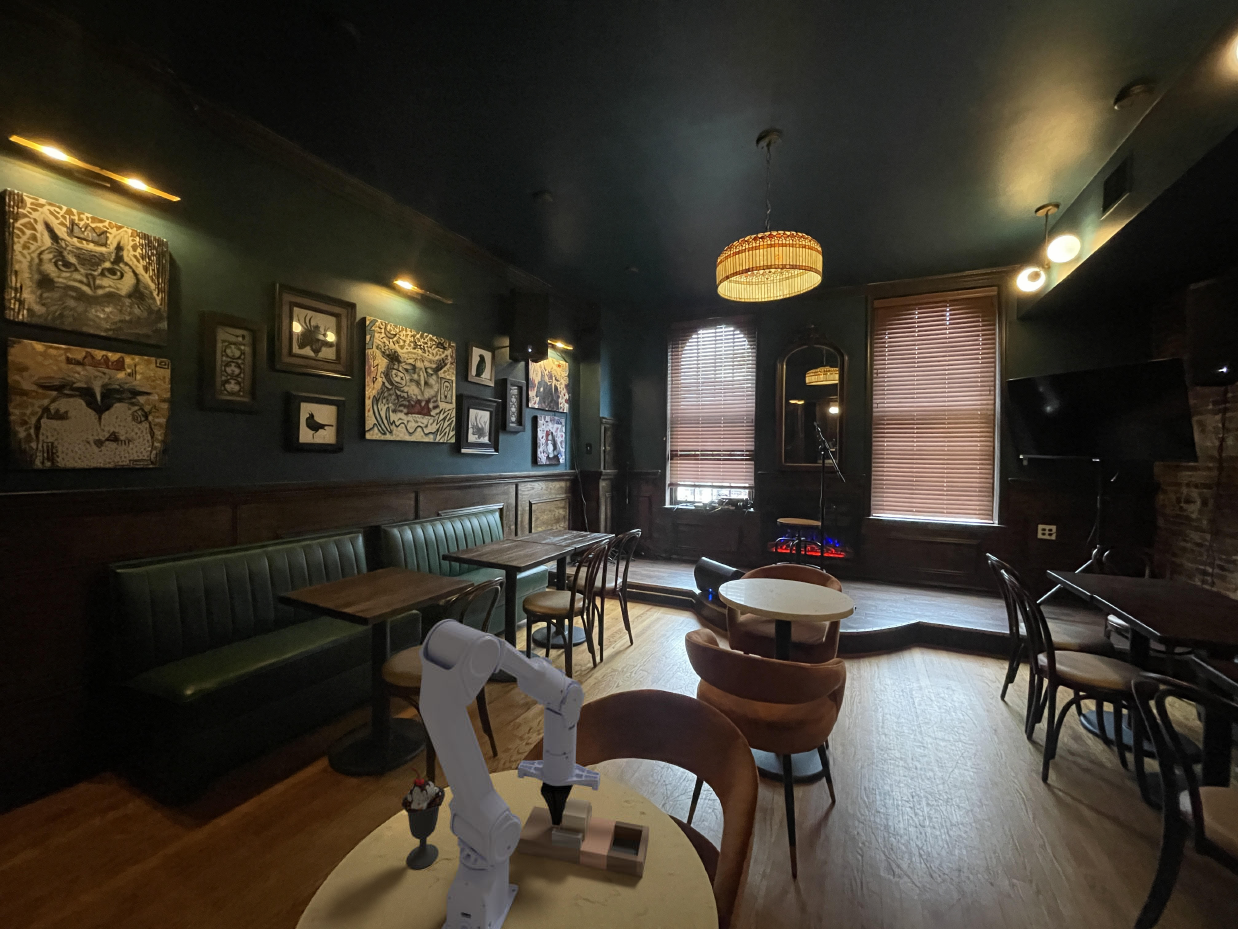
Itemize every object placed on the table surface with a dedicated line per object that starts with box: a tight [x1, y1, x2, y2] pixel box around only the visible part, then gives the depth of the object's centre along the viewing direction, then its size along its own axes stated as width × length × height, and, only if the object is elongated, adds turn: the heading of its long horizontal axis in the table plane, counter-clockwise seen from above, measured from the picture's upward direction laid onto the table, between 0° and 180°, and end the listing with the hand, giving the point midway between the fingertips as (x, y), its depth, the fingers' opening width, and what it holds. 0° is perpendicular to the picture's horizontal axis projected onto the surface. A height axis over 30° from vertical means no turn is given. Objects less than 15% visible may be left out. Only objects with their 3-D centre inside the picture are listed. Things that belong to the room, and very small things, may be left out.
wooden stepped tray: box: [517, 800, 650, 878], centre depth 85 cm, size 8×22×4 cm, turn 79°
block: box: [562, 797, 592, 841], centre depth 85 cm, size 4×4×4 cm
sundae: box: [401, 767, 446, 870], centre depth 81 cm, size 7×7×15 cm
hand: (557, 821), depth 86 cm, fingers closed
